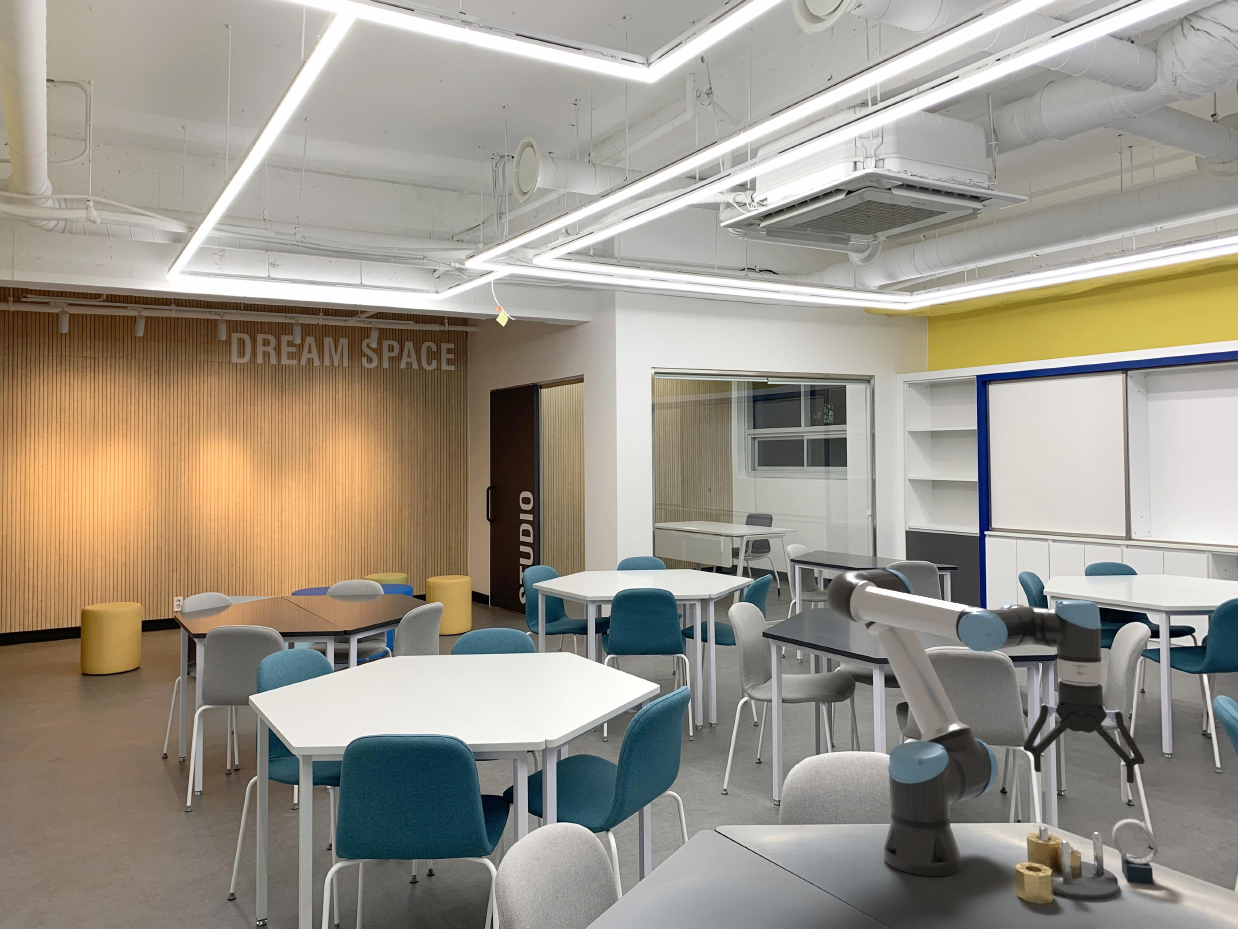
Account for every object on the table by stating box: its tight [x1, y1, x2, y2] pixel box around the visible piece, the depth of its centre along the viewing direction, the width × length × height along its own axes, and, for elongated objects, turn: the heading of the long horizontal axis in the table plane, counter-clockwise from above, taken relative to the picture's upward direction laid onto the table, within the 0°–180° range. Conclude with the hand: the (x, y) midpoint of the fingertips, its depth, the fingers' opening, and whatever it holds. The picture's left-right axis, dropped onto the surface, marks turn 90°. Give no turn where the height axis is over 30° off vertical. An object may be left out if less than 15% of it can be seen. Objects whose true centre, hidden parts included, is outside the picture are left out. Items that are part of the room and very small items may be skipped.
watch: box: [1111, 818, 1161, 886], centre depth 167 cm, size 6×8×11 cm
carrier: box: [1038, 826, 1119, 900], centre depth 166 cm, size 16×16×9 cm
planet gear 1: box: [1026, 831, 1062, 870], centre depth 171 cm, size 6×6×5 cm
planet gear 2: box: [1014, 861, 1055, 905], centre depth 160 cm, size 6×6×5 cm
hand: (1083, 794), depth 162 cm, fingers open, 13 cm apart
